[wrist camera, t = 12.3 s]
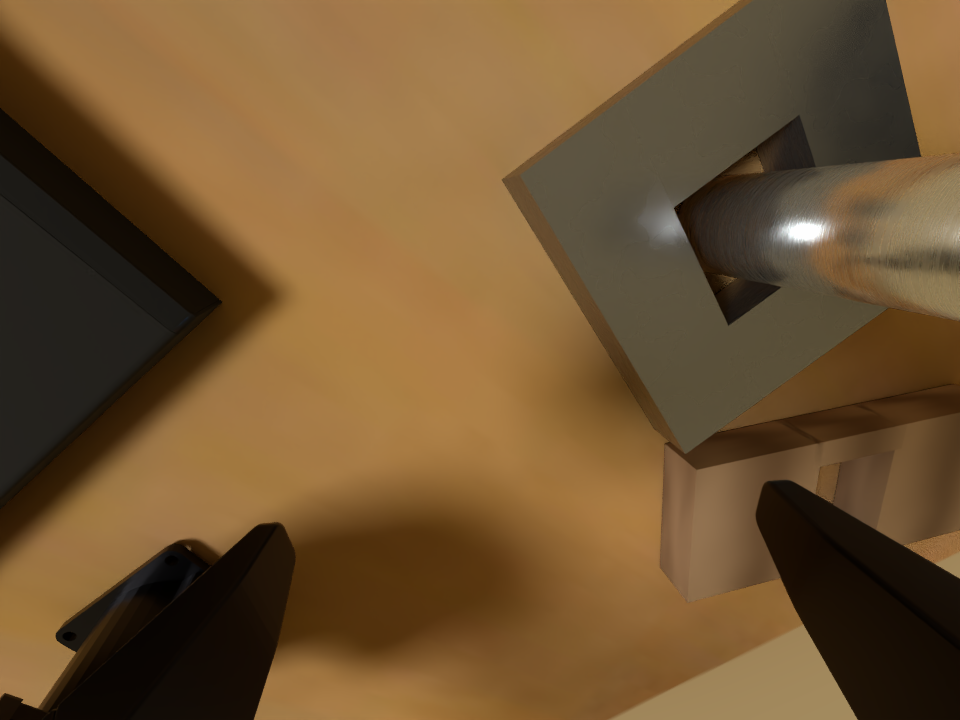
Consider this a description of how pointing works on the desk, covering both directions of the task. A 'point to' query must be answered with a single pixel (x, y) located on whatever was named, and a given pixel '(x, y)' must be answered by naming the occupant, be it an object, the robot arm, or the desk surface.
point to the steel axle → (838, 231)
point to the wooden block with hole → (810, 483)
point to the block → (690, 165)
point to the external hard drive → (74, 306)
